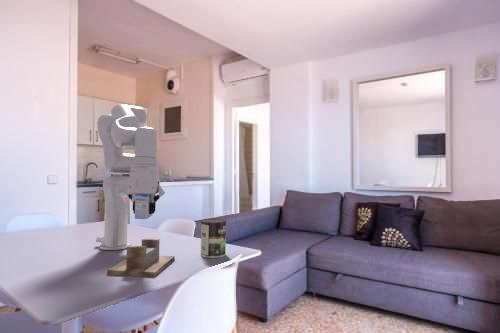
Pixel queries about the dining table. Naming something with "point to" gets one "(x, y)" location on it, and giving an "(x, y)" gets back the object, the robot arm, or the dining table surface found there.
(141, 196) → the medicine box
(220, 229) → the coffee can
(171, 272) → the dining table surface
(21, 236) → the dining table surface
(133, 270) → the display stand
